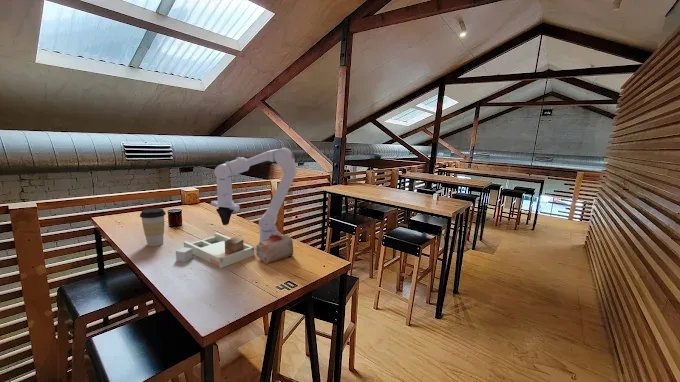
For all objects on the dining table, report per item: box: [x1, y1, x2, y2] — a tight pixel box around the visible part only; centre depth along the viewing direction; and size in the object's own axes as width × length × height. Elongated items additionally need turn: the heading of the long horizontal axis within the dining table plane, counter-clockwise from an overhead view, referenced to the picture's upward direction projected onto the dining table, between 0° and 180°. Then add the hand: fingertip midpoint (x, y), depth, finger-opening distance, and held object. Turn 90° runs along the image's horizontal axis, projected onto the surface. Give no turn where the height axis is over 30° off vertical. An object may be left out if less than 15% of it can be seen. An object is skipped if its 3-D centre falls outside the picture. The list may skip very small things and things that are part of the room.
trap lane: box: [183, 232, 255, 269], centre depth 122 cm, size 26×15×4 cm, turn 55°
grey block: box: [175, 246, 194, 263], centre depth 114 cm, size 4×4×4 cm
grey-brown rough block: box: [255, 234, 294, 265], centre depth 118 cm, size 14×8×10 cm, turn 135°
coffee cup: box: [139, 207, 167, 247], centre depth 126 cm, size 9×9×15 cm
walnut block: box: [225, 237, 244, 255], centre depth 117 cm, size 5×5×5 cm
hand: (225, 224), depth 125 cm, fingers closed
